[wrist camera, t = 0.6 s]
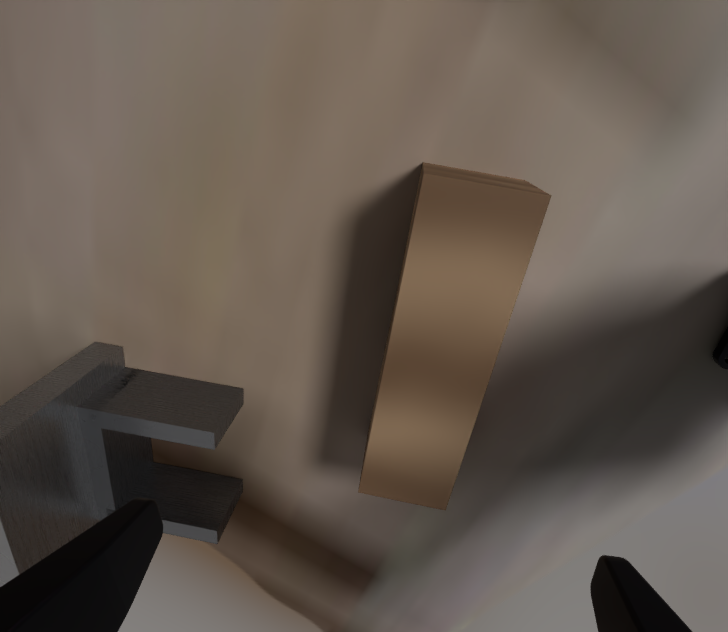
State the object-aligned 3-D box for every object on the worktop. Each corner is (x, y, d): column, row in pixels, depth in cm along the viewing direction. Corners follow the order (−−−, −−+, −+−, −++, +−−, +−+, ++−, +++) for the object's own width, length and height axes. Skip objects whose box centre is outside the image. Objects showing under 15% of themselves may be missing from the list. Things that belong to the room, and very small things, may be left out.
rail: (422, 161, 17) (424, 172, 13) (523, 179, 17) (551, 195, 13) (367, 433, 23) (358, 492, 19) (441, 448, 23) (445, 510, 19)
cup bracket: (243, 368, 22) (155, 491, 15) (242, 506, 26) (173, 653, 19) (94, 341, 22) (-62, 448, 15) (117, 481, 27) (4, 616, 19)
